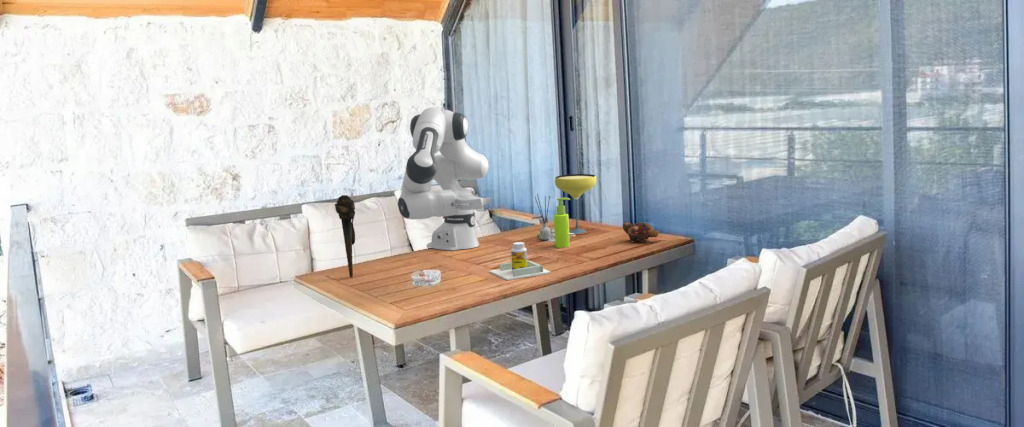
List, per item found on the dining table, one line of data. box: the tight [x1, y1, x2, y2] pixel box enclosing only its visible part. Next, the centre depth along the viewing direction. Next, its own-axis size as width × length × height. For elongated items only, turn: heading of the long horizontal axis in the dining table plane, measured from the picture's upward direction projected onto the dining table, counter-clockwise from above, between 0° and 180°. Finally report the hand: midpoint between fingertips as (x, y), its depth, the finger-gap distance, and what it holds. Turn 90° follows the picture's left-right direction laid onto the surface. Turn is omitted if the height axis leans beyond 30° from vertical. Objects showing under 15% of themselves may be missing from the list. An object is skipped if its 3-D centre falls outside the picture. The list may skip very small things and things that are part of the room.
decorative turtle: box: [622, 221, 659, 242], centre depth 329 cm, size 10×15×8 cm, turn 64°
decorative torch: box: [334, 194, 356, 278], centre depth 289 cm, size 7×7×30 cm
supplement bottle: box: [510, 241, 528, 271], centre depth 284 cm, size 6×6×10 cm
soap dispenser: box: [553, 197, 571, 249], centre depth 325 cm, size 6×7×20 cm
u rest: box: [488, 259, 552, 281], centre depth 285 cm, size 17×15×3 cm
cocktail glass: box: [554, 173, 597, 234], centre depth 353 cm, size 18×18×25 cm
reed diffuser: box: [534, 193, 552, 240], centre depth 341 cm, size 10×7×20 cm
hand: (484, 198), depth 276 cm, fingers open, 8 cm apart
